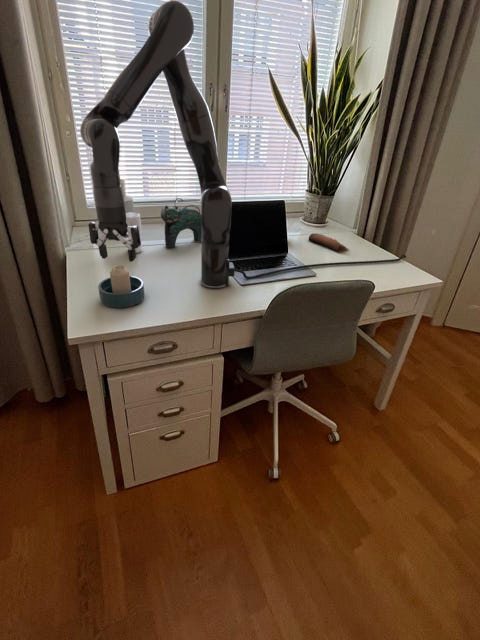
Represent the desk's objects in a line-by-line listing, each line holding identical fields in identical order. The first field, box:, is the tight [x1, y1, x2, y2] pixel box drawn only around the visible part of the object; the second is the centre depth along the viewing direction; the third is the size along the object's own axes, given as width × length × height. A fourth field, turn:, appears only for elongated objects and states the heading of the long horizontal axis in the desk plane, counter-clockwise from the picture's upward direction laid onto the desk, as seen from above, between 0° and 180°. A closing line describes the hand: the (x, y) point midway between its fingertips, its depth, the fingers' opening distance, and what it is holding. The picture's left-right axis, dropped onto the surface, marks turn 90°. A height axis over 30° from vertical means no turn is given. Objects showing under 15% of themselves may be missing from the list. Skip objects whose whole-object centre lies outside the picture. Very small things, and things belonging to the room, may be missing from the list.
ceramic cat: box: [160, 197, 201, 249], centre depth 149 cm, size 20×6×20 cm, turn 129°
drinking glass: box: [126, 212, 143, 254], centre depth 140 cm, size 7×7×15 cm
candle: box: [109, 265, 131, 294], centre depth 107 cm, size 6×6×10 cm
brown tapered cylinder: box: [308, 233, 348, 253], centre depth 163 cm, size 18×7×7 cm
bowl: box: [97, 275, 145, 309], centre depth 108 cm, size 13×13×5 cm
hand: (118, 259), depth 102 cm, fingers open, 8 cm apart
